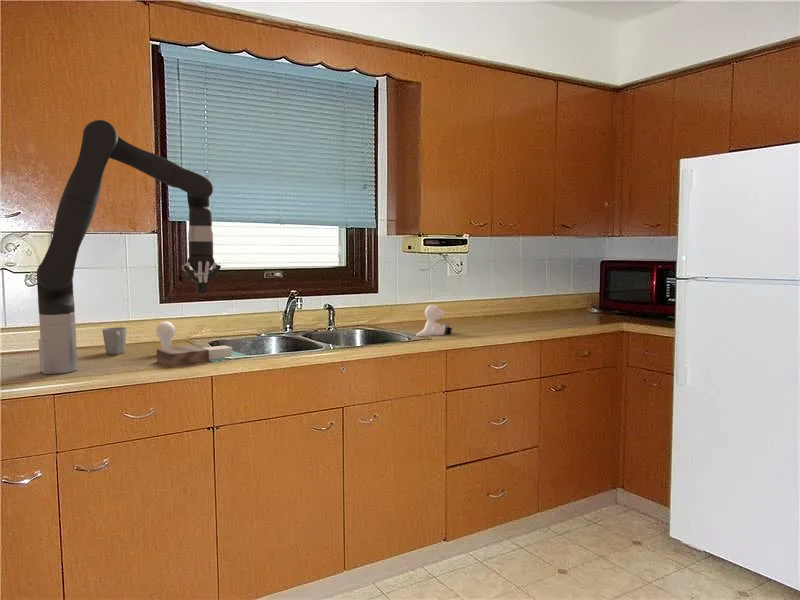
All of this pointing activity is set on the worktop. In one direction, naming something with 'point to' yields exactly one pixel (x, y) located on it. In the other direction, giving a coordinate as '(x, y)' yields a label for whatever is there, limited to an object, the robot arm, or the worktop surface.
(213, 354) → the pale pink rectangular block
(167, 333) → the lightbulb
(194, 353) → the brown wooden block
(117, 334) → the cup
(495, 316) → the worktop surface
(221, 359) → the mat
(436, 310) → the figurine
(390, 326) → the worktop surface
